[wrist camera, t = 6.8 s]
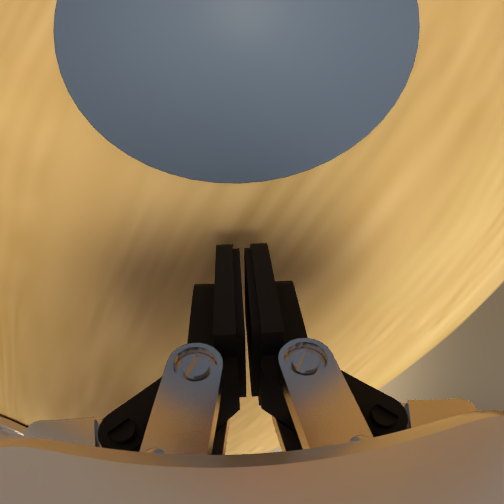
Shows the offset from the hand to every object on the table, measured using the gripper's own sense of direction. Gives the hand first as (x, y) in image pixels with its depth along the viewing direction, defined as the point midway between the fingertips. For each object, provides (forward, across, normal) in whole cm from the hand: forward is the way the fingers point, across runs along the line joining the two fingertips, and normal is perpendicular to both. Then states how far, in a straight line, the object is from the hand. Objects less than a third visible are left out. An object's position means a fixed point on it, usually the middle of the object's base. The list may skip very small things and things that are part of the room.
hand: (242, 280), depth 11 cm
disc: (+2, 0, -9) cm, 9 cm away
